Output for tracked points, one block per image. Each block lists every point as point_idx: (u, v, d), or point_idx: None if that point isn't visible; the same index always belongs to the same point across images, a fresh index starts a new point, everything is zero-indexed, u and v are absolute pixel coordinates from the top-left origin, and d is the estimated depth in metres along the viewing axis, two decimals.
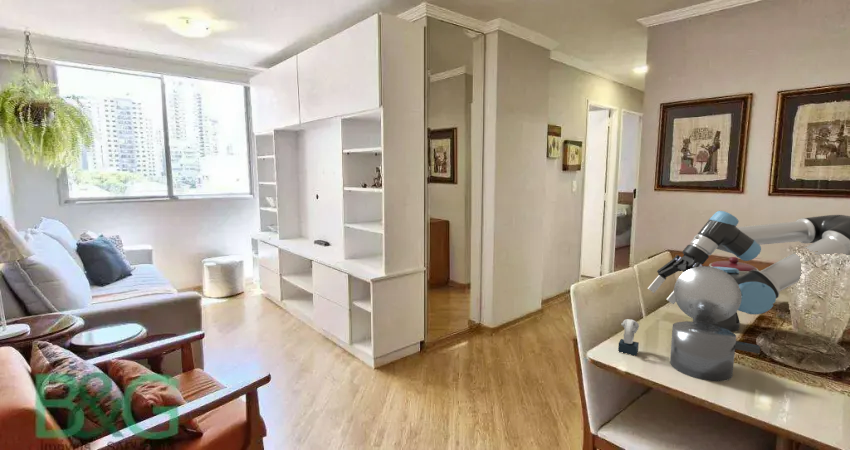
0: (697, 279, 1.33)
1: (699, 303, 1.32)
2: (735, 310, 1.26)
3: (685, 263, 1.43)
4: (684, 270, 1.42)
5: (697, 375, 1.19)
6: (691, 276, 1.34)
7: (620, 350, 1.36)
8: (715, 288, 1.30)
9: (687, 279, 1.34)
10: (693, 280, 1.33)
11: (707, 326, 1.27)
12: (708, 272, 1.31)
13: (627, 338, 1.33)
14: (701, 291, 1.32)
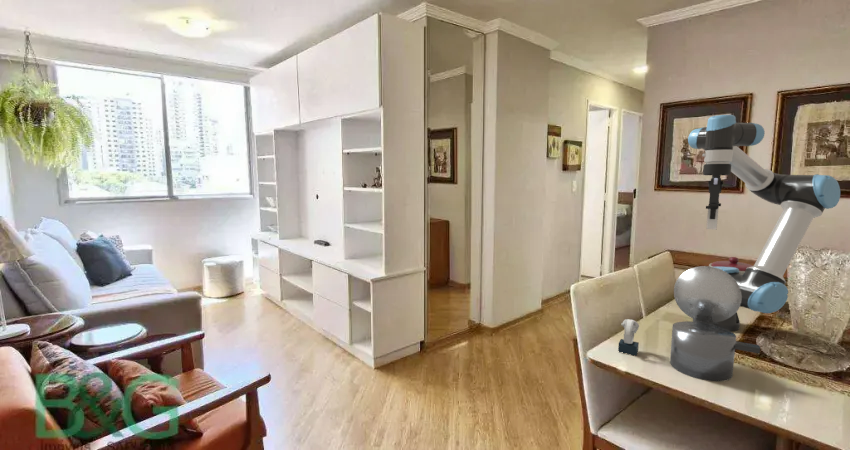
0: (697, 279, 1.32)
1: (699, 303, 1.32)
2: (735, 310, 1.26)
3: (708, 184, 1.34)
4: (709, 191, 1.33)
5: (697, 375, 1.19)
6: (691, 276, 1.33)
7: (620, 350, 1.36)
8: (715, 288, 1.29)
9: (687, 279, 1.34)
10: (693, 280, 1.33)
11: (707, 326, 1.27)
12: (708, 272, 1.30)
13: (627, 338, 1.33)
14: (701, 291, 1.31)
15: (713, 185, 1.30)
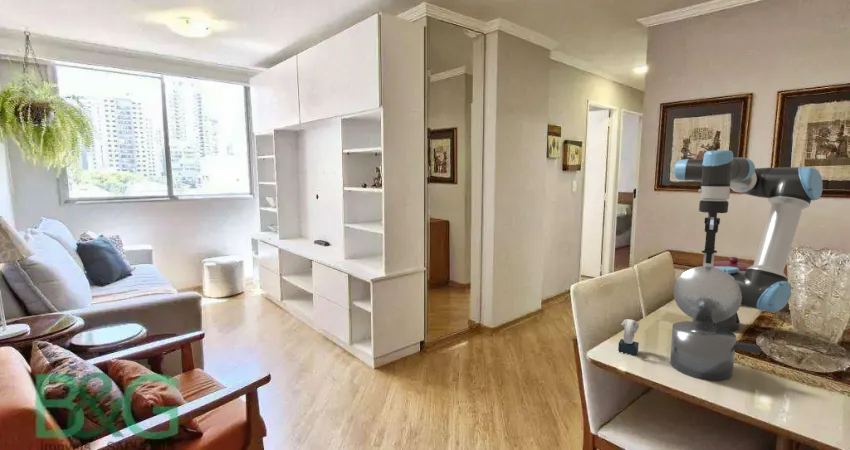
0: (697, 280, 1.31)
1: (699, 303, 1.31)
2: (735, 310, 1.26)
3: (704, 222, 1.29)
4: None
5: (697, 375, 1.19)
6: (691, 277, 1.32)
7: (620, 350, 1.36)
8: (715, 289, 1.28)
9: (687, 280, 1.33)
10: (693, 281, 1.32)
11: (707, 326, 1.27)
12: (708, 273, 1.29)
13: (627, 338, 1.33)
14: (701, 292, 1.31)
15: (709, 231, 1.25)
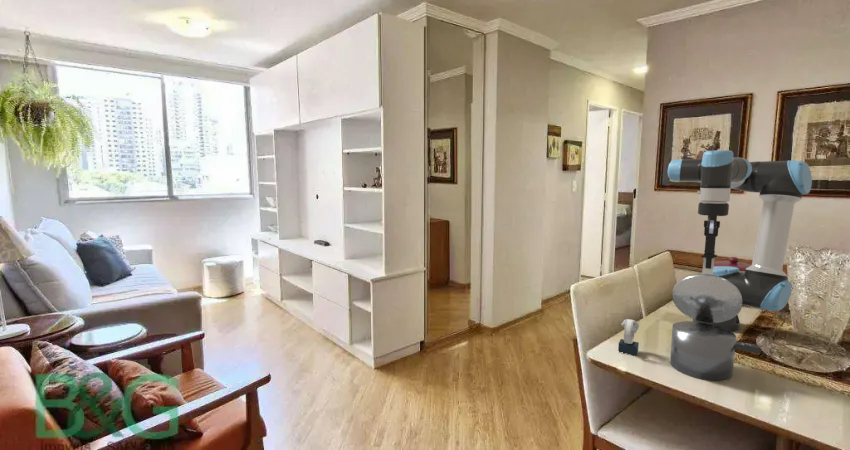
0: (696, 287, 1.27)
1: (699, 307, 1.29)
2: (735, 314, 1.24)
3: (704, 226, 1.23)
4: None
5: (697, 375, 1.19)
6: (689, 284, 1.27)
7: (620, 350, 1.36)
8: (715, 295, 1.25)
9: (685, 287, 1.28)
10: (692, 288, 1.27)
11: (707, 326, 1.27)
12: (707, 281, 1.24)
13: (627, 338, 1.33)
14: (700, 297, 1.27)
15: (708, 234, 1.20)
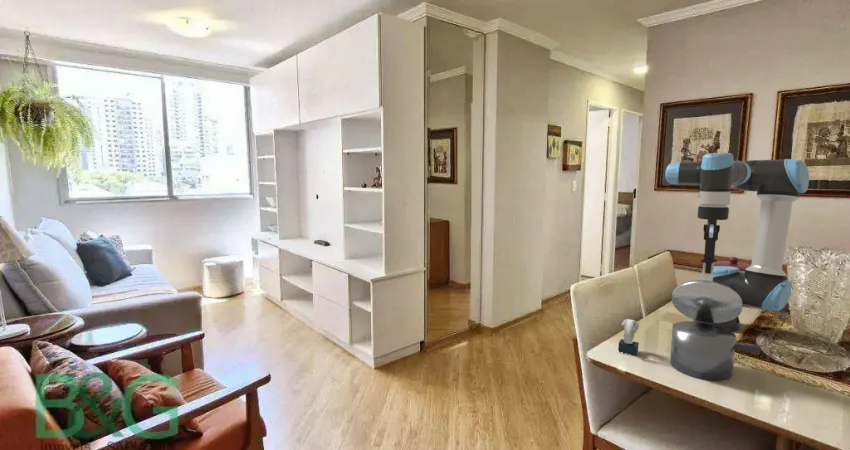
0: (695, 292, 1.25)
1: (698, 309, 1.29)
2: (735, 316, 1.23)
3: (704, 230, 1.21)
4: None
5: (697, 375, 1.19)
6: (689, 290, 1.25)
7: (620, 350, 1.36)
8: (714, 300, 1.23)
9: (685, 292, 1.27)
10: (691, 293, 1.26)
11: (707, 326, 1.27)
12: (707, 288, 1.22)
13: (627, 338, 1.33)
14: (700, 301, 1.26)
15: (708, 239, 1.18)
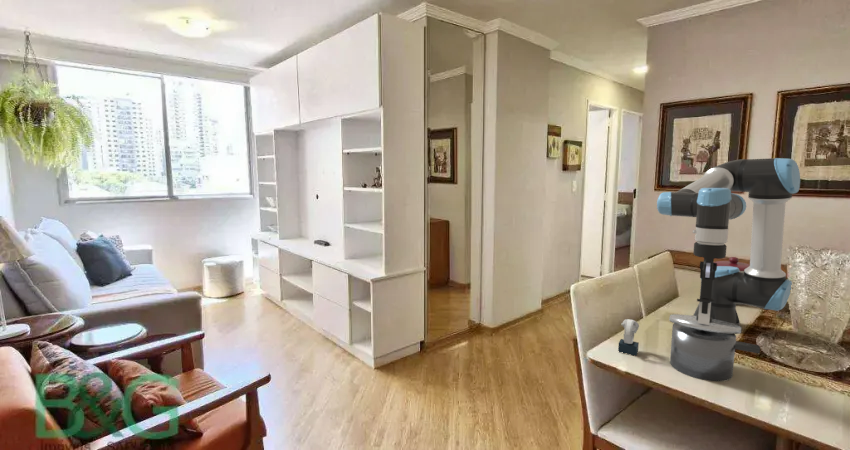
0: None
1: None
2: None
3: (700, 268, 1.15)
4: None
5: (697, 375, 1.19)
6: None
7: (620, 350, 1.36)
8: None
9: None
10: None
11: None
12: None
13: (627, 338, 1.33)
14: None
15: (705, 278, 1.11)
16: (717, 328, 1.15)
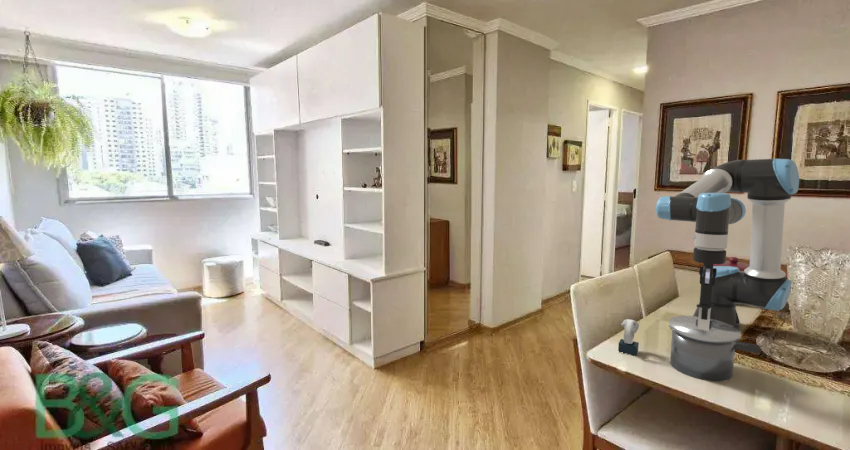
0: None
1: None
2: None
3: (699, 273, 1.14)
4: None
5: (697, 375, 1.19)
6: None
7: (620, 350, 1.36)
8: None
9: None
10: None
11: None
12: None
13: (627, 338, 1.33)
14: None
15: (704, 284, 1.11)
16: (716, 339, 1.15)
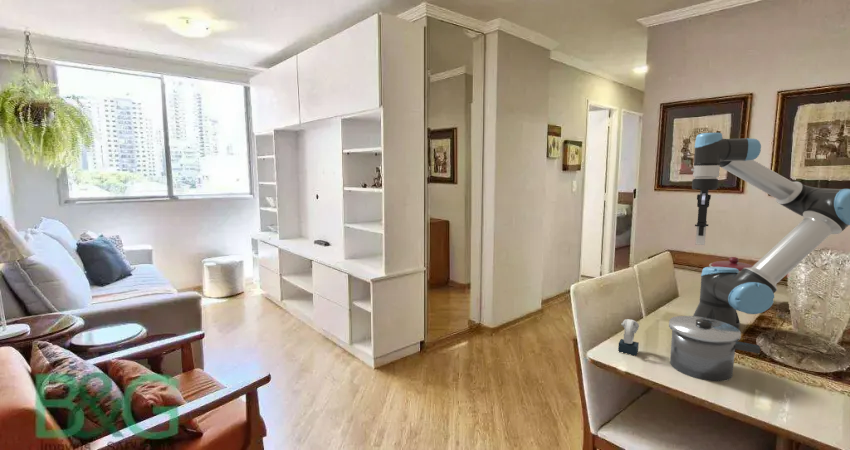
0: None
1: None
2: None
3: (697, 199, 1.42)
4: None
5: (697, 375, 1.19)
6: None
7: (620, 350, 1.36)
8: None
9: None
10: None
11: None
12: None
13: (627, 338, 1.33)
14: None
15: (701, 205, 1.39)
16: (716, 339, 1.15)
